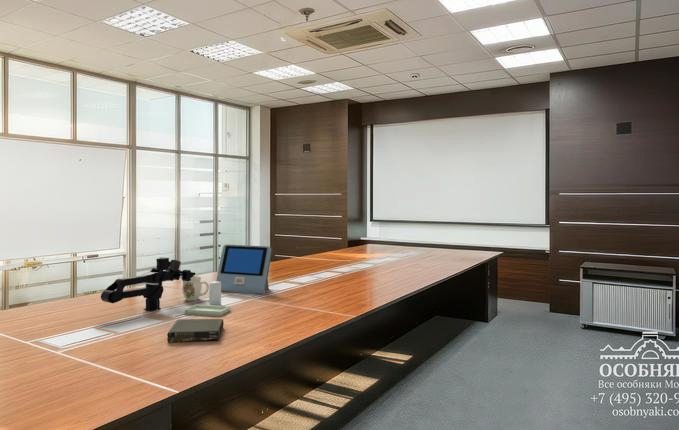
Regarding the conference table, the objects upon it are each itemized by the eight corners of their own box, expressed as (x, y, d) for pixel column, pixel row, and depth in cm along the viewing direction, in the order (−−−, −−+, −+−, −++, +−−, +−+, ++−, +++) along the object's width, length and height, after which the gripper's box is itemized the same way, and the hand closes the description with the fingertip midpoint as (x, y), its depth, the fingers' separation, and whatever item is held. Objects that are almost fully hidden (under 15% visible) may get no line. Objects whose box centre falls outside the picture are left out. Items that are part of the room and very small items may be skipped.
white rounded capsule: (215, 307, 256) (215, 283, 255) (206, 305, 259) (206, 282, 258) (223, 304, 261) (223, 282, 261) (215, 303, 264) (215, 281, 264)
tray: (184, 314, 239) (184, 309, 239) (195, 308, 251) (195, 304, 251) (220, 316, 236) (220, 311, 235) (230, 310, 247) (230, 306, 247)
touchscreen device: (213, 291, 298) (214, 245, 298) (229, 287, 316) (230, 243, 316) (262, 295, 287) (263, 247, 287) (275, 290, 306) (276, 245, 306)
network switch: (166, 345, 190) (166, 333, 189) (171, 329, 212) (171, 319, 212) (224, 341, 196) (224, 330, 196) (223, 326, 218) (223, 316, 218)
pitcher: (205, 301, 268) (205, 278, 268) (175, 301, 268) (175, 278, 268) (211, 297, 279) (211, 275, 279) (181, 297, 279) (181, 274, 279)
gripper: (179, 262, 251) (201, 260, 265) (157, 259, 261) (179, 257, 274) (178, 282, 251) (200, 279, 265) (156, 279, 261) (179, 276, 274)
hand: (189, 272), depth 270 cm, fingers open, 9 cm apart
